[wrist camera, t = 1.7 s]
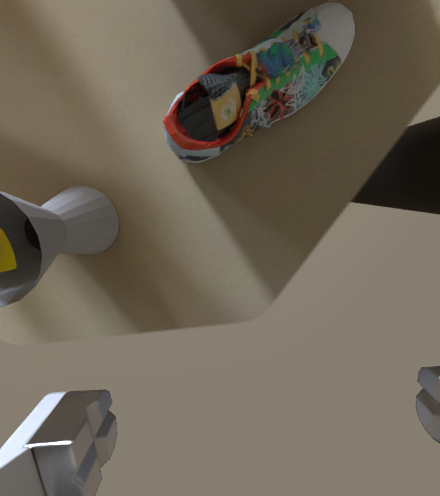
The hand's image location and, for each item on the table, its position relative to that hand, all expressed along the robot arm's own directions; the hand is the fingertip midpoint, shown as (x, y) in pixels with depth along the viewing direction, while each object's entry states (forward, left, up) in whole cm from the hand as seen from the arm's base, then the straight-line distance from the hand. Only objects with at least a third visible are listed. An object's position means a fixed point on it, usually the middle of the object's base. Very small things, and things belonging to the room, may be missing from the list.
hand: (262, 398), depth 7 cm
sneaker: (-2, -15, -28) cm, 31 cm away
